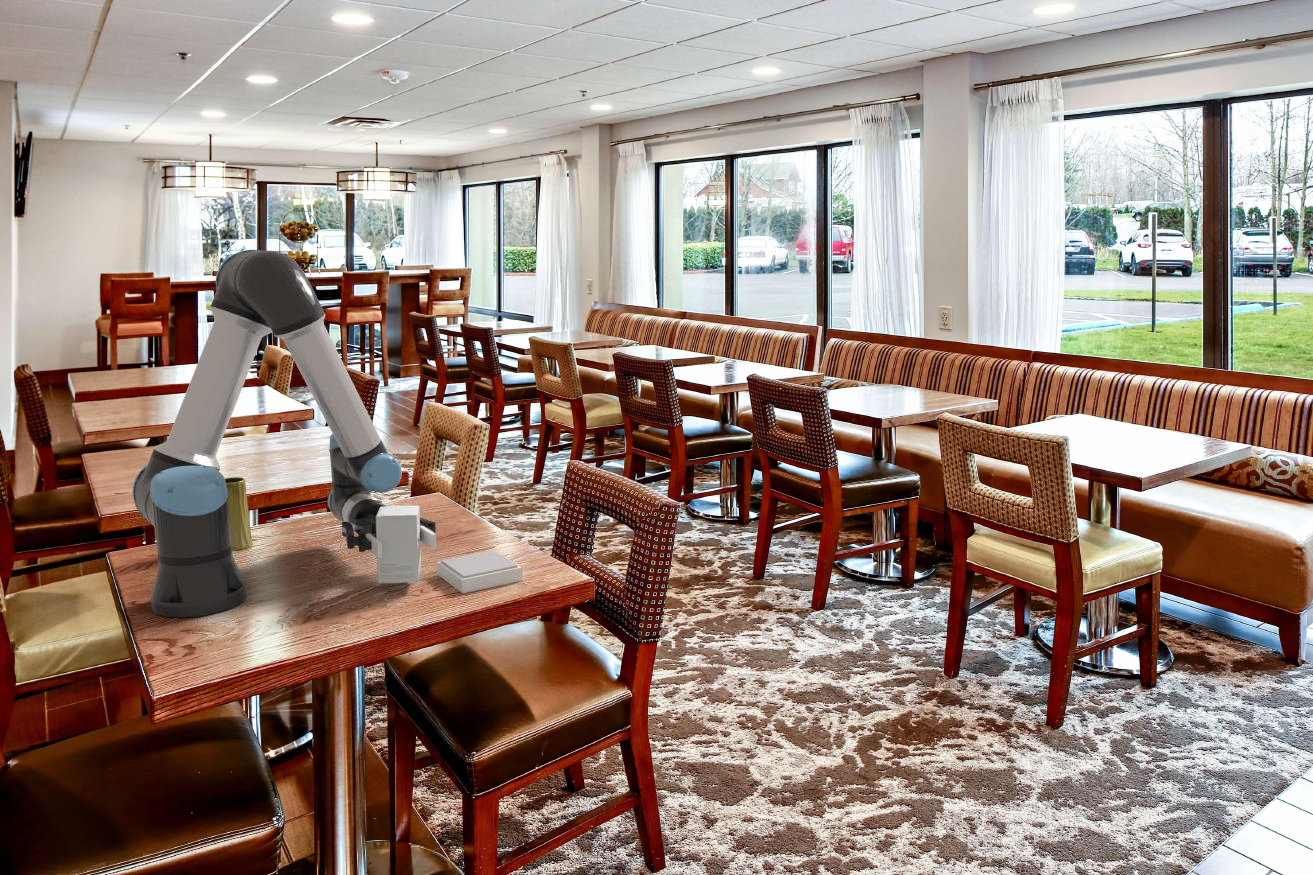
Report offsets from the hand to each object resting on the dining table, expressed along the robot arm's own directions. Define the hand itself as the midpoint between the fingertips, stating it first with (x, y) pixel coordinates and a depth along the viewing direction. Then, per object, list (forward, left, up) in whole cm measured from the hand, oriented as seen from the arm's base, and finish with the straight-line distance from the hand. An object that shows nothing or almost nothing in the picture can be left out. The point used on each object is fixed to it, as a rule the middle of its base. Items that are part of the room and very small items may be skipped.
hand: (407, 545), depth 169 cm
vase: (-20, +46, -9) cm, 51 cm away
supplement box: (0, +4, -7) cm, 9 cm away
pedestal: (+14, 0, -9) cm, 16 cm away
